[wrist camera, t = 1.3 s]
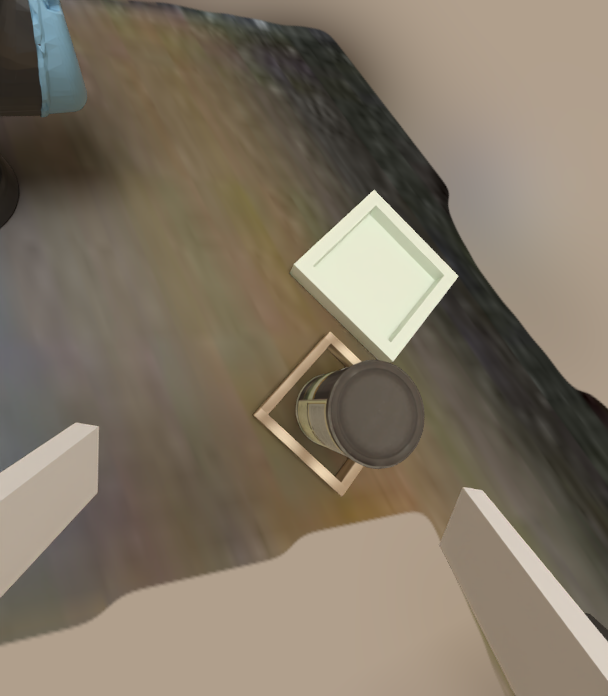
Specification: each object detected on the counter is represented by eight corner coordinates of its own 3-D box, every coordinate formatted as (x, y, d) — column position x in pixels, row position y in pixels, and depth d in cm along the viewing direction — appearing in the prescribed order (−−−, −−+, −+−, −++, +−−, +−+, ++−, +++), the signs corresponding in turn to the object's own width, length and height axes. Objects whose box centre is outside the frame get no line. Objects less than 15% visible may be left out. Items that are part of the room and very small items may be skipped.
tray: (289, 273, 43) (293, 264, 40) (365, 202, 50) (374, 189, 47) (382, 364, 44) (393, 361, 42) (445, 283, 51) (458, 276, 48)
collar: (252, 414, 38) (254, 415, 36) (324, 335, 43) (330, 331, 41) (335, 491, 39) (342, 496, 37) (396, 405, 44) (406, 405, 41)
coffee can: (304, 365, 41) (341, 346, 28) (368, 384, 43) (431, 375, 30) (286, 437, 39) (317, 455, 25) (354, 454, 41) (417, 479, 27)
